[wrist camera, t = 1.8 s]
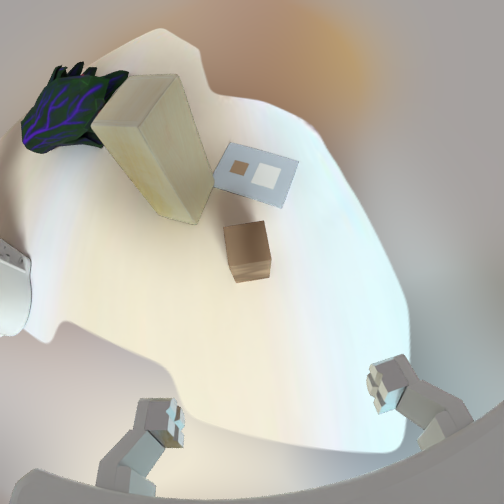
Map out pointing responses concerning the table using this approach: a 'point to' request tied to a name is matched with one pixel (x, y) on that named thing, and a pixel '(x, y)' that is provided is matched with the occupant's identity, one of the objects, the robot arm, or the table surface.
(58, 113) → the decorative plant
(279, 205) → the page
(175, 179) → the tall cream box
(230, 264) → the walnut block
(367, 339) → the table surface
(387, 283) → the table surface
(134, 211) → the table surface
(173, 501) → the robot arm
